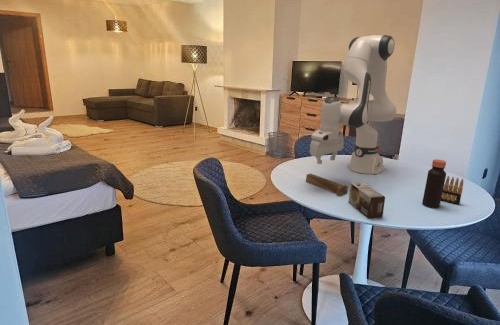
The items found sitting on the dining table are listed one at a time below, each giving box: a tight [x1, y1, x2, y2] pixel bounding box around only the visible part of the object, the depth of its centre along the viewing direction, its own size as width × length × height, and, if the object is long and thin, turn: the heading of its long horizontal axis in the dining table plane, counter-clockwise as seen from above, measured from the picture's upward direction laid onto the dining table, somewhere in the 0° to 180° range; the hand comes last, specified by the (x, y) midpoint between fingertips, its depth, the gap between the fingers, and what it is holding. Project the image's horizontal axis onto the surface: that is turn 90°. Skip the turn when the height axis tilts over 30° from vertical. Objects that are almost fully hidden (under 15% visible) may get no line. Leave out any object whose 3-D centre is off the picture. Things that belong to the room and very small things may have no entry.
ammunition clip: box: [441, 175, 464, 206], centre depth 149 cm, size 11×2×12 cm, turn 52°
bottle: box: [421, 159, 447, 209], centre depth 143 cm, size 7×7×20 cm
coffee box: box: [348, 181, 386, 219], centre depth 138 cm, size 9×6×16 cm
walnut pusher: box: [305, 172, 349, 197], centre depth 162 cm, size 6×22×4 cm, turn 39°
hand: (326, 162), depth 160 cm, fingers open, 8 cm apart
